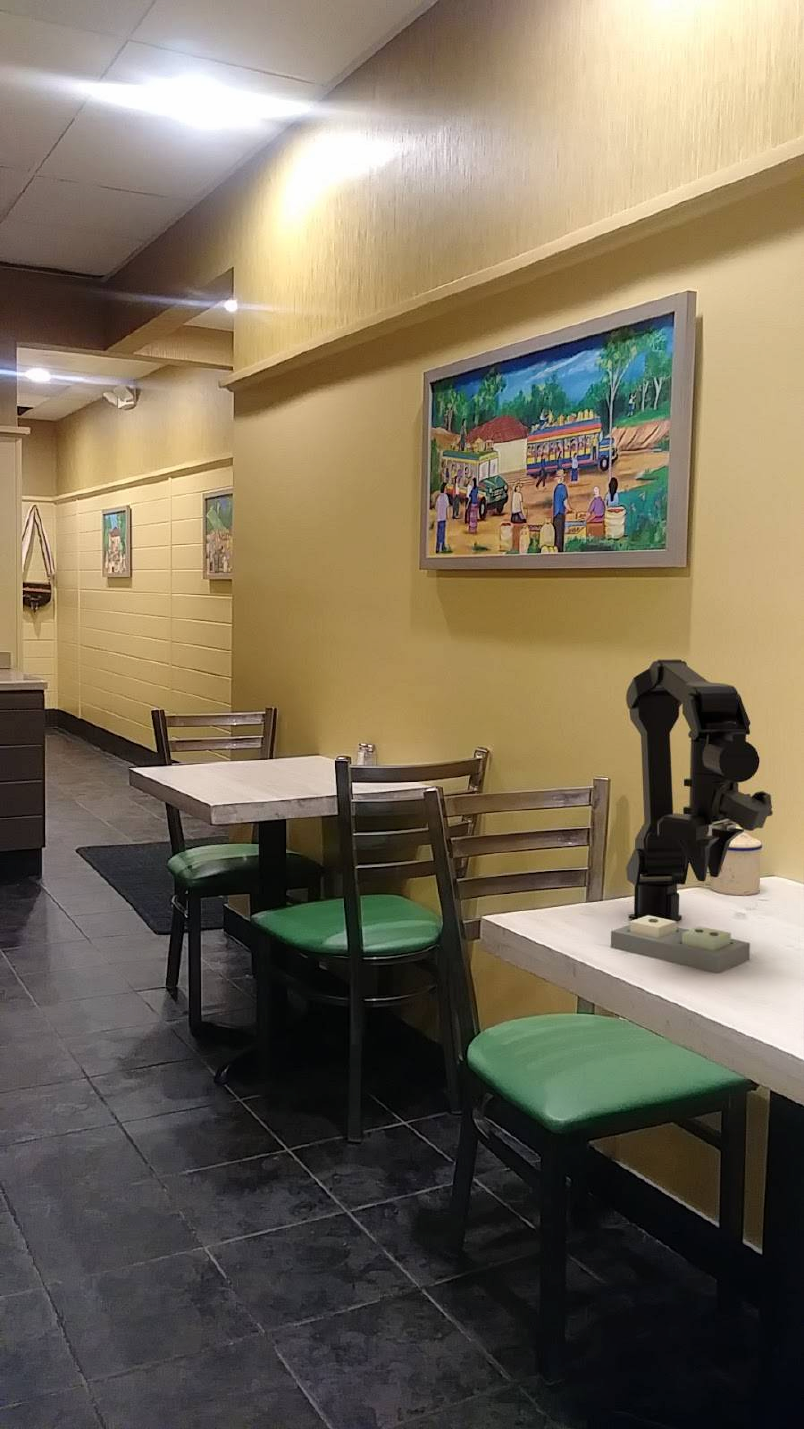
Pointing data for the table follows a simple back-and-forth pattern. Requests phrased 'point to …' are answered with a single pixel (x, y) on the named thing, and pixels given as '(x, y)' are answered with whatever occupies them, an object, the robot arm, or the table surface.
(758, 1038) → the table surface
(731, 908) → the table surface
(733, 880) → the teacup with lid
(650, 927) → the cream tile one
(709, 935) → the sage tile two
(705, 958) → the panel
